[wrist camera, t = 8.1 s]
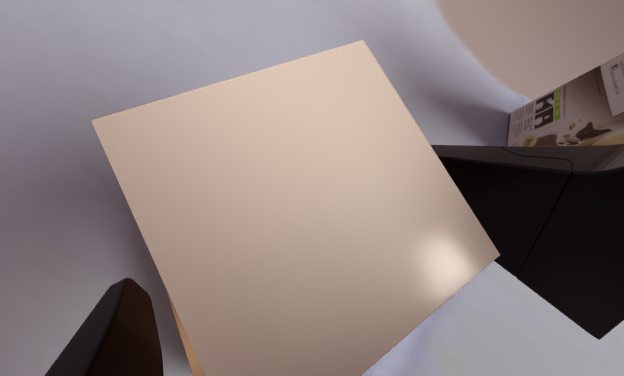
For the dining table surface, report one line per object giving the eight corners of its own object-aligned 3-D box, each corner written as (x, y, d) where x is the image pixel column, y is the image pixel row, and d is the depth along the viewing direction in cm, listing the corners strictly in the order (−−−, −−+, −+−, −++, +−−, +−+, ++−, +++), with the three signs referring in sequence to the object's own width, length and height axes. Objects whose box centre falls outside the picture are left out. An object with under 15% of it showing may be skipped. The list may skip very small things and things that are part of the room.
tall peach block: (324, 253, 17) (515, 260, 4) (251, 298, 15) (238, 512, 3) (287, 185, 17) (366, 27, 5) (213, 221, 16) (63, 111, 3)
